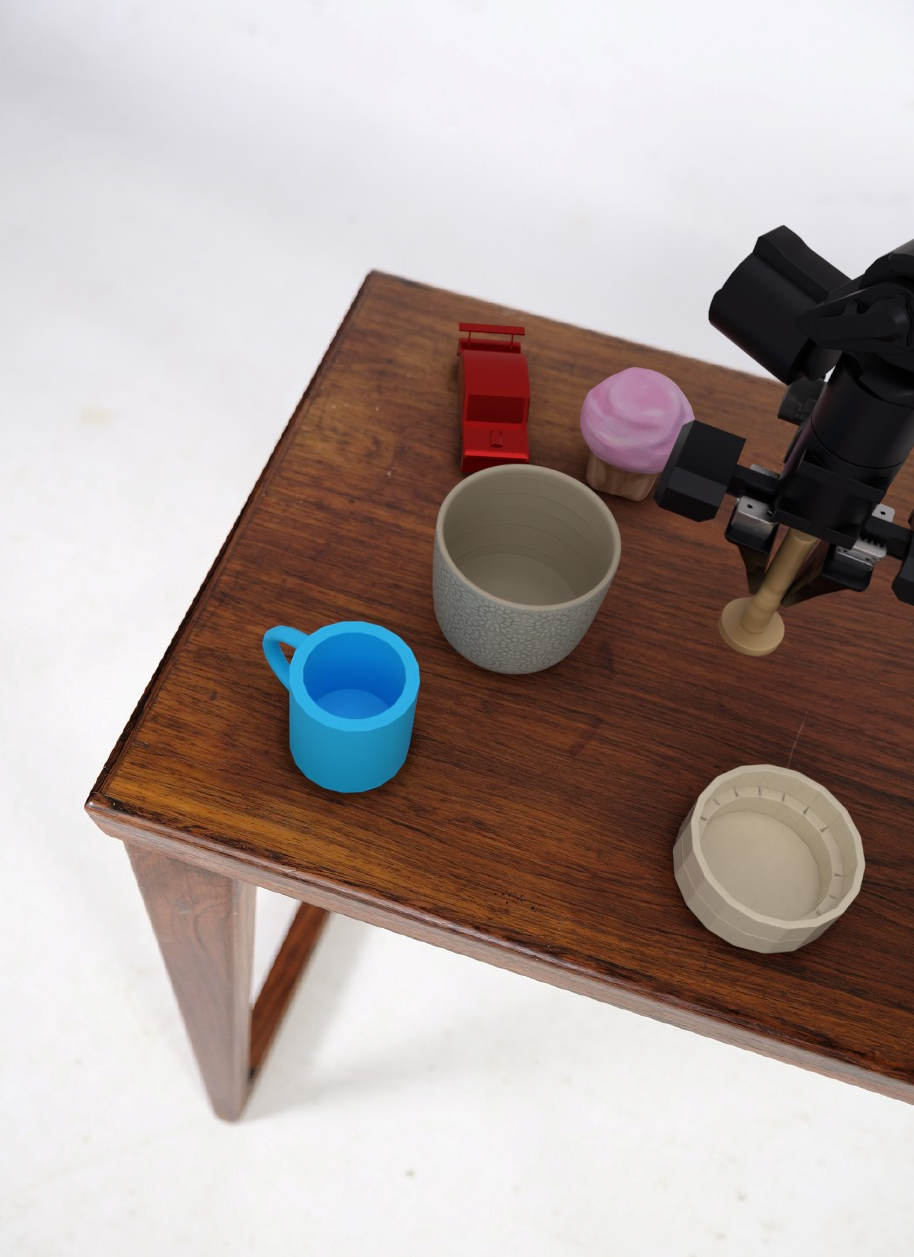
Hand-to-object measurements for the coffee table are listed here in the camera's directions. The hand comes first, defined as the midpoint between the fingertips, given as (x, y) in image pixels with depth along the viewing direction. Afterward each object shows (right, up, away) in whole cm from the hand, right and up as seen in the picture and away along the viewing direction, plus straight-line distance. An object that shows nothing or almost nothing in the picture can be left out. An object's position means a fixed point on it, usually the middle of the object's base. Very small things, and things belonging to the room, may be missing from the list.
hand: (768, 595), depth 79 cm
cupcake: (-7, +10, +19) cm, 23 cm away
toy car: (-18, +15, +21) cm, 32 cm away
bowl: (-1, -18, 0) cm, 18 cm away
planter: (-17, -2, +9) cm, 20 cm away
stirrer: (0, -2, +3) cm, 4 cm away
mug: (-29, -9, +3) cm, 31 cm away
